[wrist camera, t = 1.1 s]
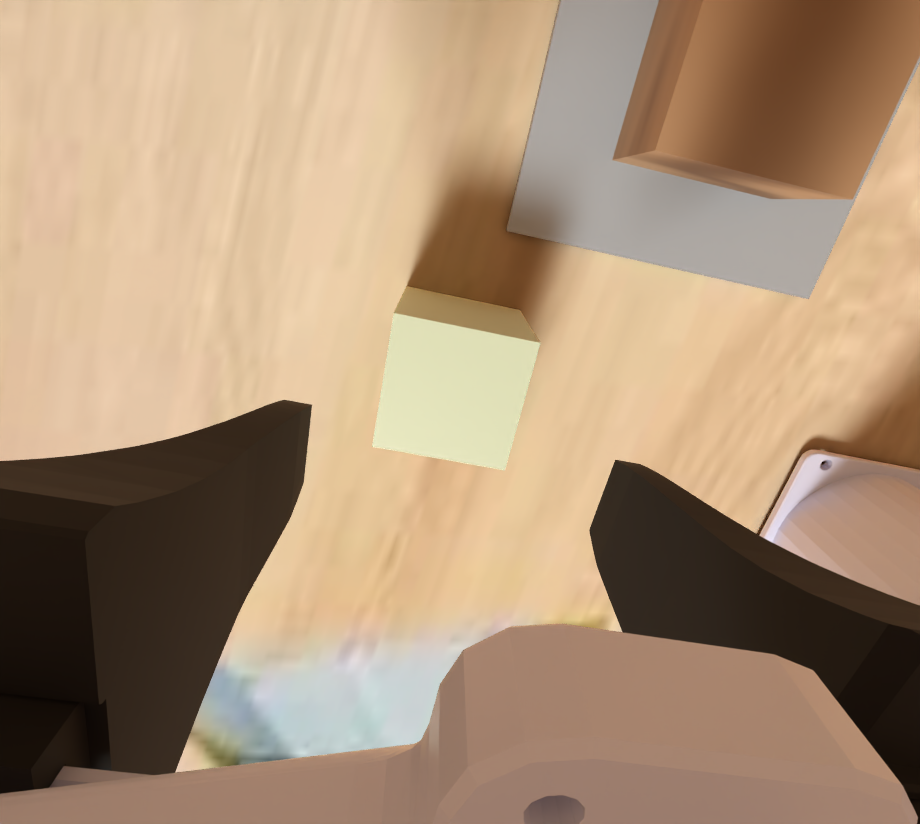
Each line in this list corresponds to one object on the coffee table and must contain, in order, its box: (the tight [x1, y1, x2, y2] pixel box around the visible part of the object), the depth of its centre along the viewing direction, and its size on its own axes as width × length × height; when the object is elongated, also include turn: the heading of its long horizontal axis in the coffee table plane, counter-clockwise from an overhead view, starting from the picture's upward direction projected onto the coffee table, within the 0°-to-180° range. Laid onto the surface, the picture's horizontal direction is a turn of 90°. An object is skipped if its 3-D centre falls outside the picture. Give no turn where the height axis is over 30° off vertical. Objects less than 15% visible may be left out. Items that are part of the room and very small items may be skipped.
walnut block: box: [612, 0, 920, 199], centre depth 15 cm, size 6×6×4 cm
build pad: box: [506, 0, 920, 299], centre depth 17 cm, size 12×12×1 cm
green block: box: [372, 286, 540, 470], centre depth 18 cm, size 4×4×5 cm
